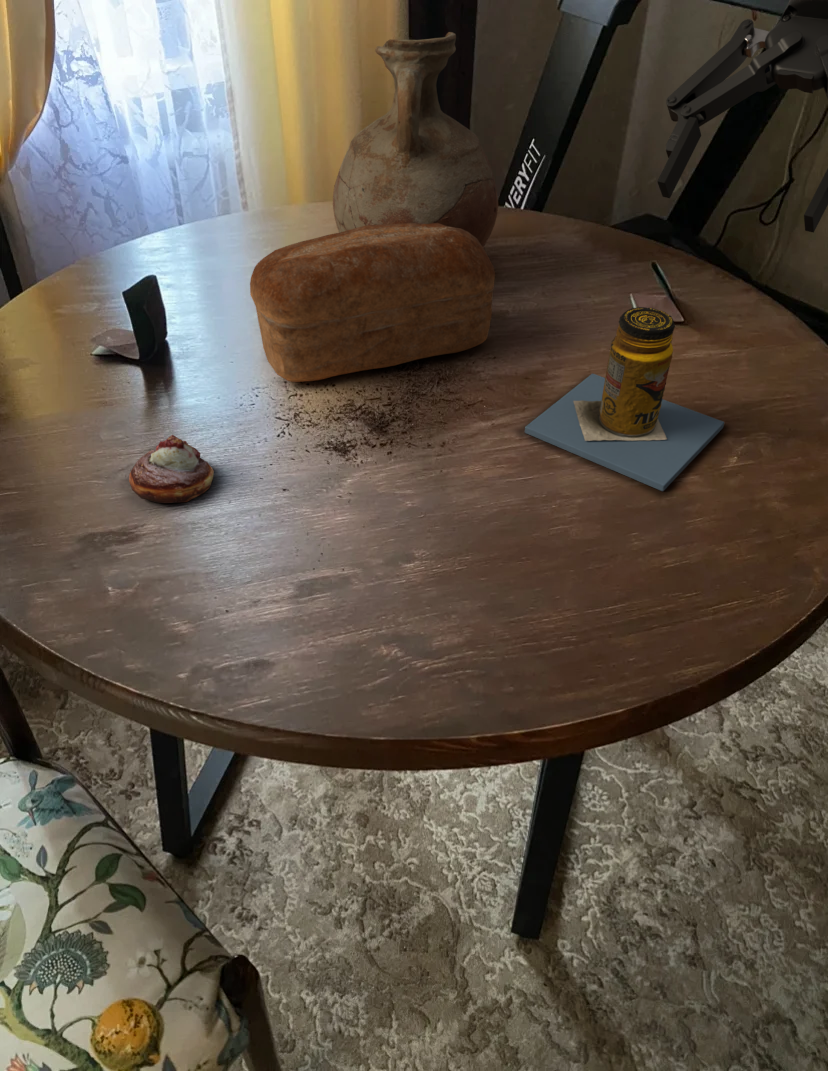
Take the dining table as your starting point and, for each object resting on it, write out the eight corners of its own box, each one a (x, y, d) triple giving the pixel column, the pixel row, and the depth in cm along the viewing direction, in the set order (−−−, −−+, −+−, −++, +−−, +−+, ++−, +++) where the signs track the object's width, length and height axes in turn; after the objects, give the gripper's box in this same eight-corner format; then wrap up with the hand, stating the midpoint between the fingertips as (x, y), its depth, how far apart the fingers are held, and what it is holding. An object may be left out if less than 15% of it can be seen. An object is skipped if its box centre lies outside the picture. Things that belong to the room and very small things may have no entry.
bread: (252, 349, 102) (235, 233, 93) (462, 310, 110) (466, 199, 100) (276, 399, 94) (260, 277, 84) (502, 353, 101) (511, 236, 92)
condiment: (666, 440, 86) (692, 334, 78) (584, 442, 86) (601, 336, 78) (650, 402, 91) (672, 299, 84) (572, 403, 91) (587, 300, 83)
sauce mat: (723, 428, 89) (725, 421, 89) (662, 492, 81) (664, 485, 80) (591, 379, 97) (592, 372, 96) (524, 433, 89) (524, 426, 88)
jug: (477, 243, 126) (488, 11, 106) (509, 309, 110) (529, 50, 90) (333, 252, 124) (316, 17, 104) (344, 320, 108) (327, 57, 88)
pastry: (224, 465, 85) (216, 424, 81) (197, 512, 79) (188, 470, 76) (149, 457, 86) (138, 416, 82) (118, 503, 80) (105, 461, 77)
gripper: (992, 34, 72) (875, 260, 73) (715, 2, 83) (618, 197, 85) (1008, -34, 65) (879, 217, 66) (705, -57, 77) (600, 155, 78)
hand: (732, 206), depth 75 cm, fingers open, 13 cm apart
